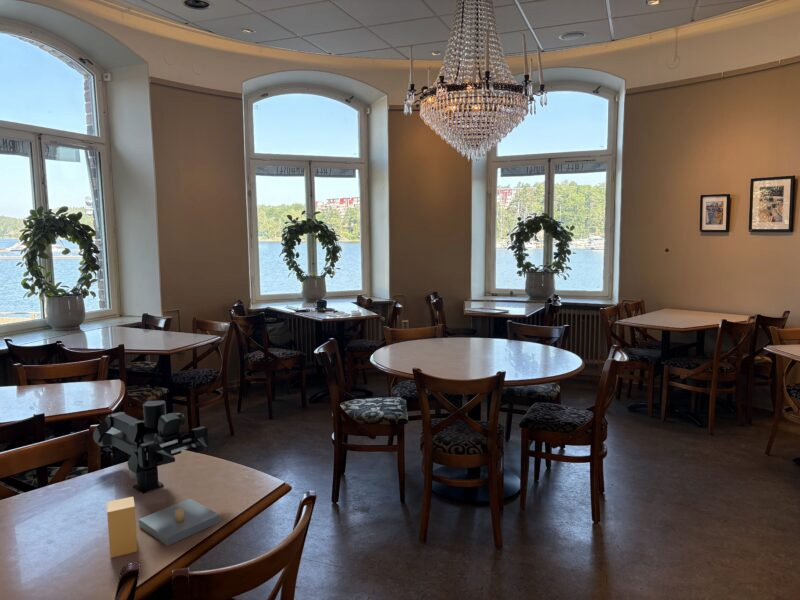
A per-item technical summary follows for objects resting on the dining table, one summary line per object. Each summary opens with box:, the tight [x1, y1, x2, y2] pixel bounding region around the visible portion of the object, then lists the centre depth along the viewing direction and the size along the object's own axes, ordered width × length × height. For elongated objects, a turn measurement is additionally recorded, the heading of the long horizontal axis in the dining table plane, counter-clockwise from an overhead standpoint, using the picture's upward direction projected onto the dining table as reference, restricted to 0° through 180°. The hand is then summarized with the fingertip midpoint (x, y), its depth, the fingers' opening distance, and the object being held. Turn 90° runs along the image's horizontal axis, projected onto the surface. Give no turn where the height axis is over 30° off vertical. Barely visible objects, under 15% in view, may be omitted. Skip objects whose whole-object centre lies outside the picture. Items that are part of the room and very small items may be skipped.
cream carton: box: [106, 496, 139, 559], centre depth 128 cm, size 6×6×11 cm
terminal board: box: [138, 498, 221, 547], centre depth 139 cm, size 14×14×5 cm
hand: (191, 454), depth 142 cm, fingers open, 9 cm apart
